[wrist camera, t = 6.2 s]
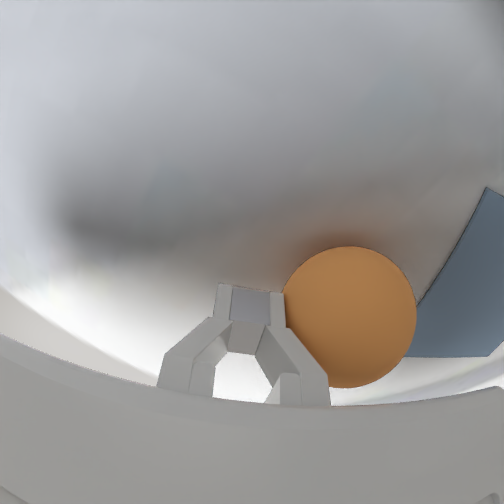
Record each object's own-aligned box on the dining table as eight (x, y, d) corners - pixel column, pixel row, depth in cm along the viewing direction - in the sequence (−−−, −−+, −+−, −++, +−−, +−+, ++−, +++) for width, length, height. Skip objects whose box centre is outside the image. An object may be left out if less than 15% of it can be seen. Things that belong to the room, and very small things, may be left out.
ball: (337, 203, 12) (449, 265, 10) (304, 293, 15) (391, 346, 13) (260, 261, 8) (429, 365, 6) (238, 360, 12) (346, 432, 9)
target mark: (571, 243, 10) (572, 244, 10) (487, 354, 17) (488, 356, 17) (486, 187, 9) (488, 189, 9) (380, 353, 17) (380, 355, 16)
